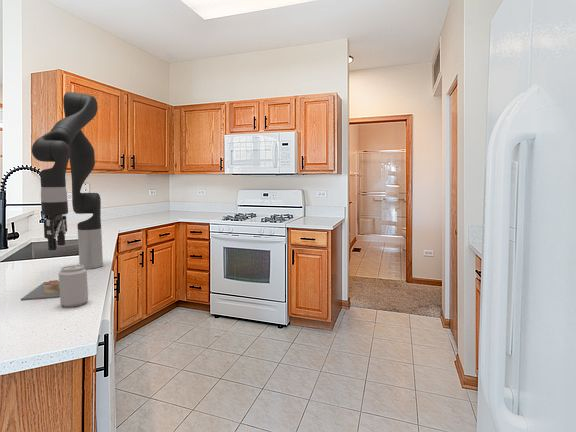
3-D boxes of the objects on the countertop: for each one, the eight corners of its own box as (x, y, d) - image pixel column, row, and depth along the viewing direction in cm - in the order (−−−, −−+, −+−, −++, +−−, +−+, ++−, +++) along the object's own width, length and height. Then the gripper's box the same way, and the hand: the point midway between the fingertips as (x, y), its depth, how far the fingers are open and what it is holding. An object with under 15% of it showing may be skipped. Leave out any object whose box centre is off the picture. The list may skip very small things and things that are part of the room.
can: (56, 308, 107) (54, 270, 106) (65, 300, 114) (63, 264, 113) (84, 306, 109) (82, 268, 108) (91, 298, 116) (89, 263, 115)
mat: (44, 283, 133) (44, 281, 133) (85, 280, 137) (85, 279, 137) (21, 300, 114) (20, 298, 114) (70, 296, 118) (69, 295, 118)
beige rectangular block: (75, 288, 126) (75, 279, 126) (71, 291, 121) (71, 282, 121) (49, 289, 124) (49, 280, 123) (44, 293, 119) (44, 284, 119)
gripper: (59, 201, 113) (62, 251, 115) (73, 199, 127) (75, 243, 129) (32, 202, 111) (36, 252, 113) (49, 199, 125) (52, 244, 127)
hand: (57, 247), depth 121 cm, fingers open, 8 cm apart
